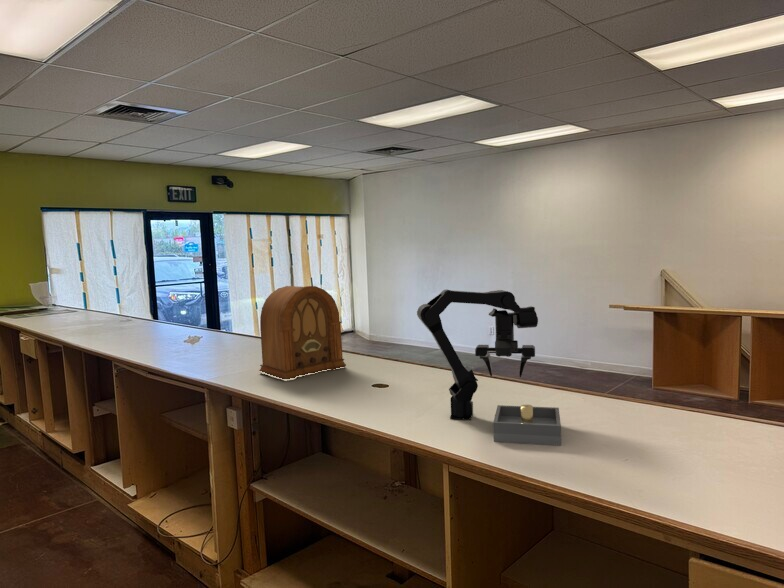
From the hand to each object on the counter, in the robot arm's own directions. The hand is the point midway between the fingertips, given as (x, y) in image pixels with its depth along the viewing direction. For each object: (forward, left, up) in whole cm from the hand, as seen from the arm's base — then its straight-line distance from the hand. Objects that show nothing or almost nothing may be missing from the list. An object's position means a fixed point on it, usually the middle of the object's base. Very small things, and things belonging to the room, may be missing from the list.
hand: (505, 376), depth 168 cm
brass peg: (+7, -18, -12) cm, 23 cm away
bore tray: (+7, -18, -12) cm, 23 cm away
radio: (-96, +48, -12) cm, 108 cm away
